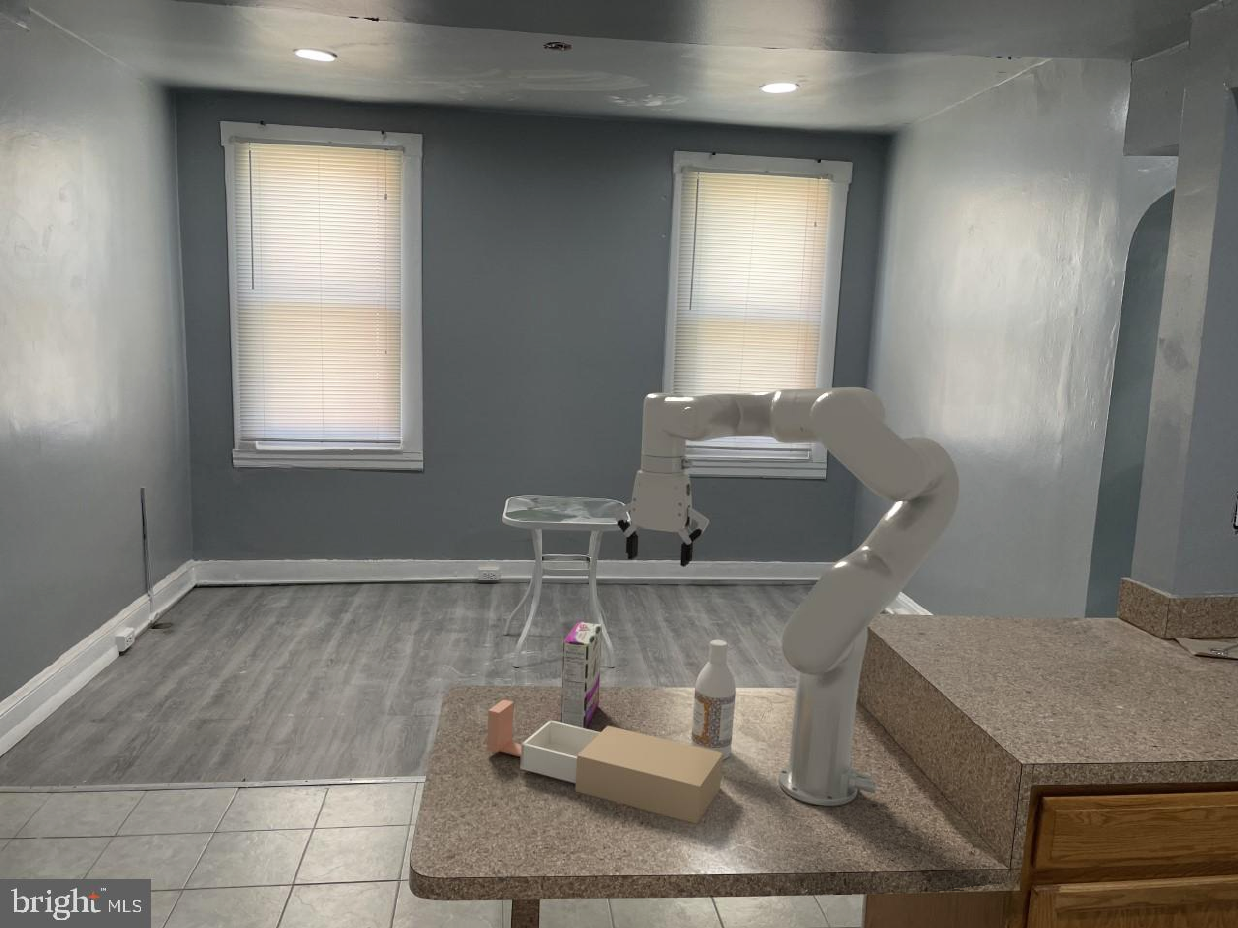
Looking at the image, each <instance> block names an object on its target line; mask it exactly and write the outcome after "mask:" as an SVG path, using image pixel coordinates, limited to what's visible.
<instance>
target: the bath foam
mask: <svg viewBox="0 0 1238 928" xmlns="http://www.w3.org/2000/svg"><path fill="white" fill-rule="evenodd" d="M709 642H710V643H709V657H708V662H707V663H706V664H705V666H704V667H703V668H702V670H701V671H700V672H699V674H698V675H697V679H696V681H695V686H694V697H693V711H692V712H693V713H692V724H691V742H690V745H692V746H696V747H700V748H704V749H708V750H713V751H717V752H721V753H723V760H726V759H728V758H729V757H730V756H731V752H732V742H733V731H734V719H735V707H736V706H735V705H736V696H737V695H736V693H737V691H736V690H737V689H736V681H735V678H734V675H733V673H732V671H731V669H730V667H729V666H728V664H727V656H728V655H727V654H728V642H727V641H725V640H722V639H713V640H711V641H709ZM723 760H722V761H723Z"/></svg>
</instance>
